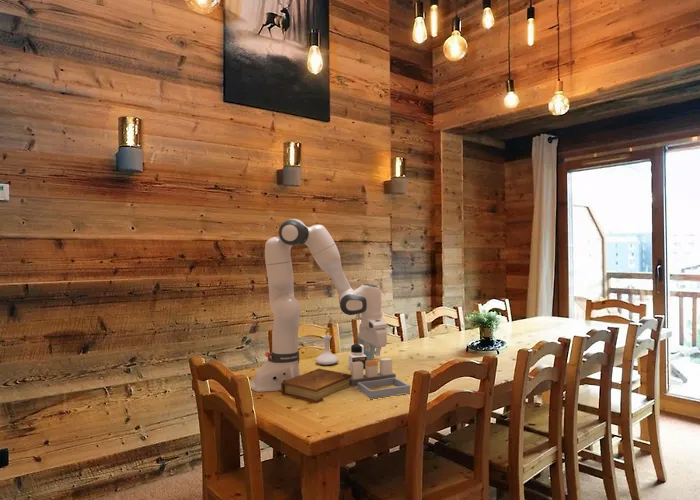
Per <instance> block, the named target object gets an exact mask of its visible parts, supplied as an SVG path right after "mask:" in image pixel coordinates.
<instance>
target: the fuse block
mask: <svg viewBox="0 0 700 500" xmlns="http://www.w3.org/2000/svg"><path fill="white" fill-rule="evenodd" d="M387 378H397V375H396V374H395V373H394V372H392V374H390V375H381V374H380V372H378V376H375V377H366V376H365V374H363V378H359V379H352V378H351V377H350V386H349V387H350V388H353V387H355V388H357V382H365V381H372V380H380V379H387Z"/></svg>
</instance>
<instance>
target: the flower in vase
mask: <svg viewBox="0 0 700 500" xmlns="http://www.w3.org/2000/svg"><path fill="white" fill-rule="evenodd" d="M327 317H328V319H329V320H328V323H327V325H326V328H325V333H324V334H326V335H322V336H321V338H322V339H323V342H324V350H323V352H322V353H320V354H319V355H318V356H317V357H316V359H315V362H316V363H317V364H318V365H326V366H327V365H328V366H329V365H334V364H337V363H338V362H339V358H338V357H337V356H336V355H335V354H334V353H332V352H331V350H330V342H331V339H332V337H333V336H332V335H328V333H330V330H328V327H329V324H330V323H331V324H332V325H333V327H336V326H337V325H336V323H335V321H333V318H332V317H331V315H330V313H327Z"/></svg>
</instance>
